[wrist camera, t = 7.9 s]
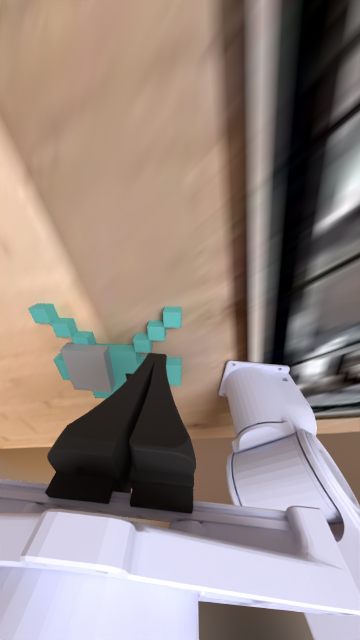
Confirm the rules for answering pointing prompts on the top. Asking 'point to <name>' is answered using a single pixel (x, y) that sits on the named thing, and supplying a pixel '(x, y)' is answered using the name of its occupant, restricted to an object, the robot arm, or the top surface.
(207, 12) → the top surface
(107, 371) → the tile
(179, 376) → the alien figure
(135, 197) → the top surface
